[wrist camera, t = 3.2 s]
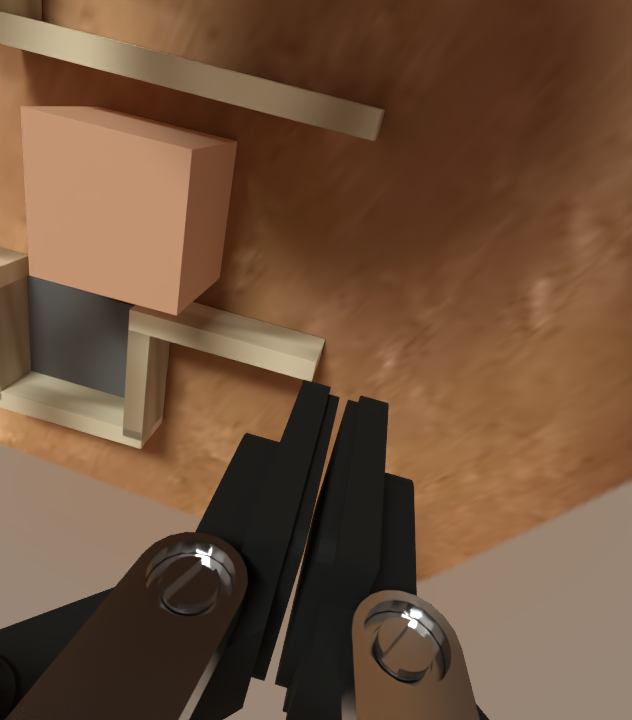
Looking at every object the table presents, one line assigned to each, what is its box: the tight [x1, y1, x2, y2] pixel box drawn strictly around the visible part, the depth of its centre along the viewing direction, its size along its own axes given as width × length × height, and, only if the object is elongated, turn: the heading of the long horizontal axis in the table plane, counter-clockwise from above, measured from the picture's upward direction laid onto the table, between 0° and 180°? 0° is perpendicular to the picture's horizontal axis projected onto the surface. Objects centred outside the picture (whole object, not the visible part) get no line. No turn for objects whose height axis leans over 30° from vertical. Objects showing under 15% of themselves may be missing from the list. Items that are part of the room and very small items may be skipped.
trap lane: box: [0, 0, 385, 449], centre depth 22 cm, size 28×24×2 cm
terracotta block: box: [20, 106, 238, 316], centre depth 20 cm, size 6×6×5 cm
